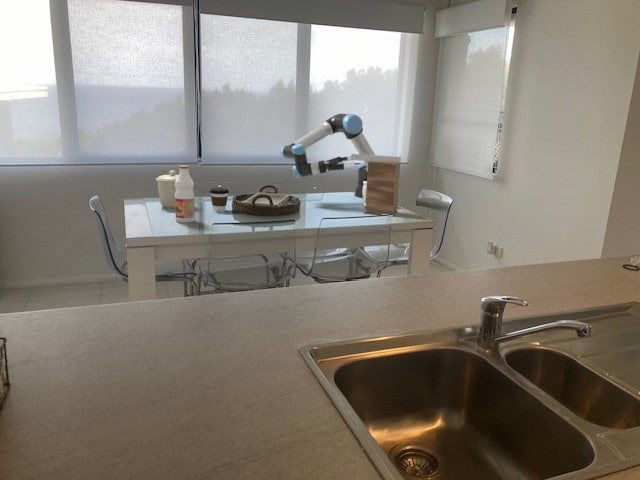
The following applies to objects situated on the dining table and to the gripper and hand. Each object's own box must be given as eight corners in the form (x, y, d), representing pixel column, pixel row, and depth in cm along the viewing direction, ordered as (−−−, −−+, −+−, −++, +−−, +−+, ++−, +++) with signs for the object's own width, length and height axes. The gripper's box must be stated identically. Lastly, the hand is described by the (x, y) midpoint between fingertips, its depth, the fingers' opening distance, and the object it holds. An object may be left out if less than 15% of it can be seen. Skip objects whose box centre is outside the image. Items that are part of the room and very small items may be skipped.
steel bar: (352, 159, 310) (352, 154, 309) (400, 162, 304) (401, 156, 303) (351, 159, 306) (351, 154, 305) (400, 162, 300) (400, 157, 299)
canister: (194, 205, 311) (193, 169, 306) (183, 211, 294) (182, 173, 289) (164, 203, 313) (162, 167, 308) (151, 209, 296) (150, 171, 290)
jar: (376, 207, 326) (377, 183, 323) (359, 206, 330) (361, 182, 326) (379, 205, 336) (381, 181, 332) (364, 203, 339) (365, 180, 336)
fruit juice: (193, 223, 266) (192, 167, 259) (174, 222, 265) (172, 166, 258) (195, 219, 275) (194, 165, 268) (177, 218, 274) (175, 164, 268)
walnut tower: (369, 209, 319) (373, 159, 312) (397, 212, 314) (401, 161, 307) (364, 213, 308) (367, 161, 300) (392, 216, 302) (396, 163, 295)
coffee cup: (205, 210, 297) (205, 189, 294) (217, 208, 306) (217, 187, 303) (221, 213, 292) (221, 191, 289) (233, 210, 302) (233, 189, 299)
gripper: (322, 178, 331) (356, 172, 328) (317, 168, 306) (353, 161, 304) (320, 167, 332) (354, 160, 330) (315, 155, 307) (351, 148, 305)
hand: (353, 160), depth 317 cm, fingers open, 13 cm apart
